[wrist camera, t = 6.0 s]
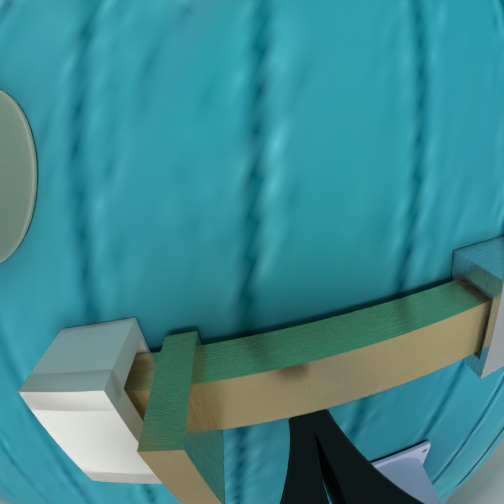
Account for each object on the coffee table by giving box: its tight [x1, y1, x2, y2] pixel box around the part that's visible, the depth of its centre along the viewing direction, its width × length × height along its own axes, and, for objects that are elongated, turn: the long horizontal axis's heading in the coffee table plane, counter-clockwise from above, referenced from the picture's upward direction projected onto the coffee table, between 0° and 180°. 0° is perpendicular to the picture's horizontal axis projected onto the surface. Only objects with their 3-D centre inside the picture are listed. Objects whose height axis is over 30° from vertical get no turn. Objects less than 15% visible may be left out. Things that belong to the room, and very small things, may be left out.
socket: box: [19, 317, 163, 484], centre depth 12 cm, size 6×4×5 cm
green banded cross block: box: [124, 278, 492, 504], centre depth 11 cm, size 5×20×6 cm, turn 101°
